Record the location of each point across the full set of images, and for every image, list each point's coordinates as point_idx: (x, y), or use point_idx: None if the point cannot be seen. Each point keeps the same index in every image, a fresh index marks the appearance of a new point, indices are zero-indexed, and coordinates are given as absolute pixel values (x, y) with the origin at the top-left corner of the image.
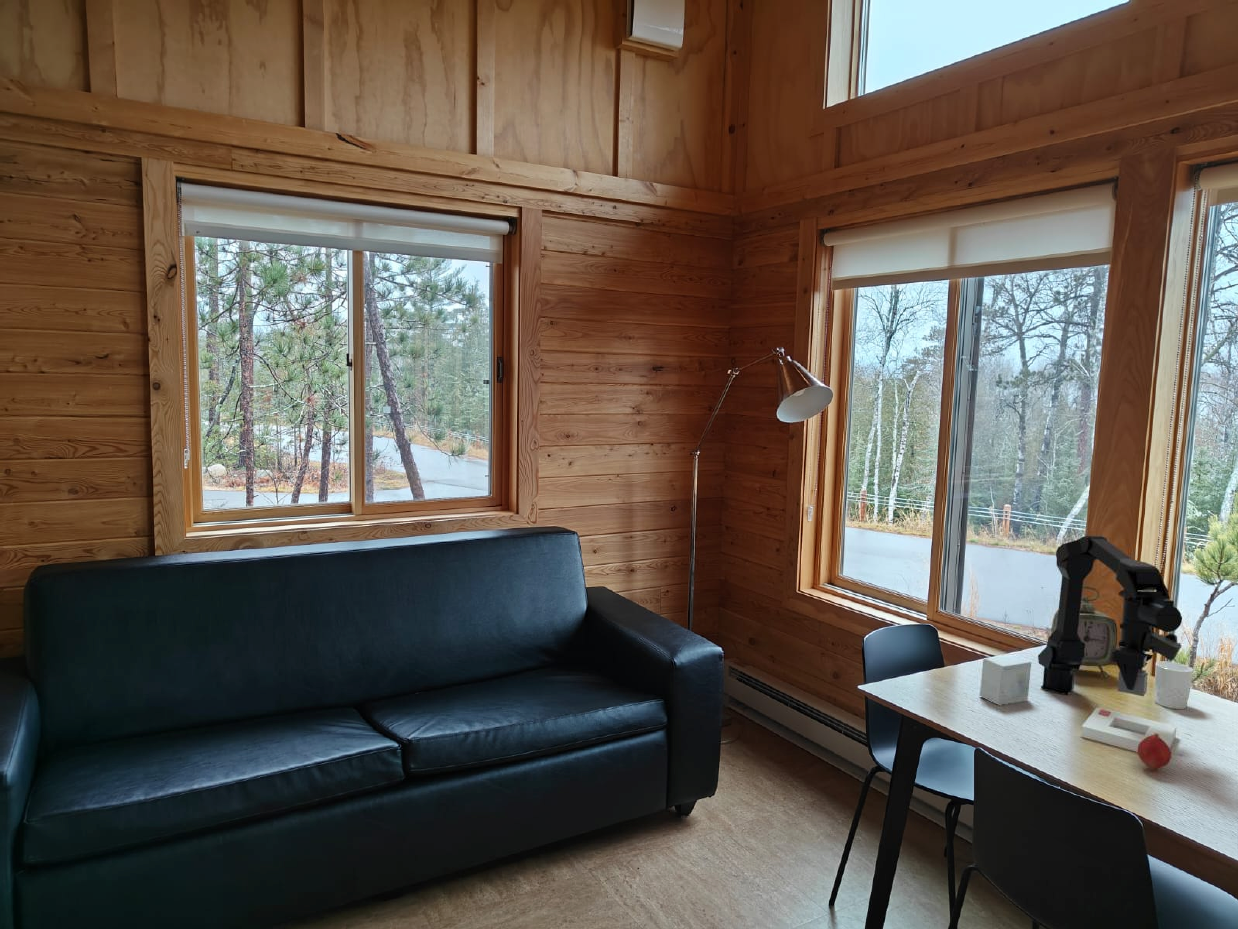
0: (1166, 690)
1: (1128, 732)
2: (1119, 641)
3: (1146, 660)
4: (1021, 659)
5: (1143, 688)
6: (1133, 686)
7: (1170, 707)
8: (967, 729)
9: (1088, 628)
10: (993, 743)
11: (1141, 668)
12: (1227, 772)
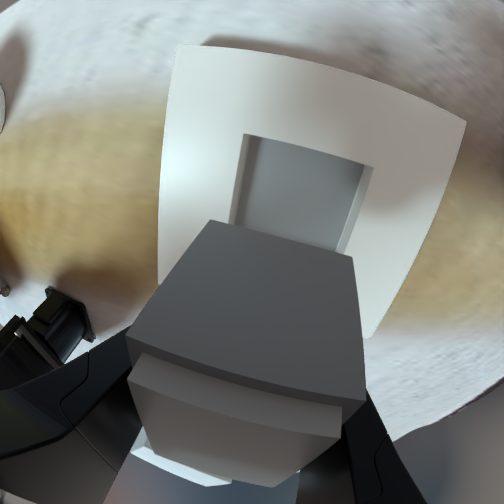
0: None
1: (370, 221)
2: None
3: (27, 462)
4: (148, 454)
5: (355, 302)
6: None
7: (4, 105)
8: (391, 433)
9: None
10: (439, 411)
11: (104, 399)
12: None
